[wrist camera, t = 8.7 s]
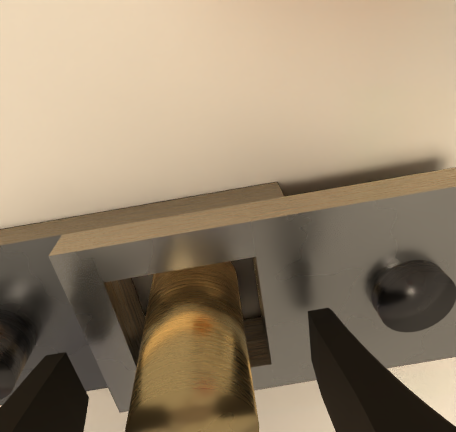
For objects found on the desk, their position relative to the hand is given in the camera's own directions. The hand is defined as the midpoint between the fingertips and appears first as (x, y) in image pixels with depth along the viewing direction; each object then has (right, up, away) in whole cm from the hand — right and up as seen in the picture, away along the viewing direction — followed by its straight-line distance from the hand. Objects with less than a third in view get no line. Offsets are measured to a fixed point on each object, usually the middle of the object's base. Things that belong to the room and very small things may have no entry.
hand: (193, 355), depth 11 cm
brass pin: (0, +2, +3) cm, 4 cm away
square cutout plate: (0, +2, +3) cm, 3 cm away
